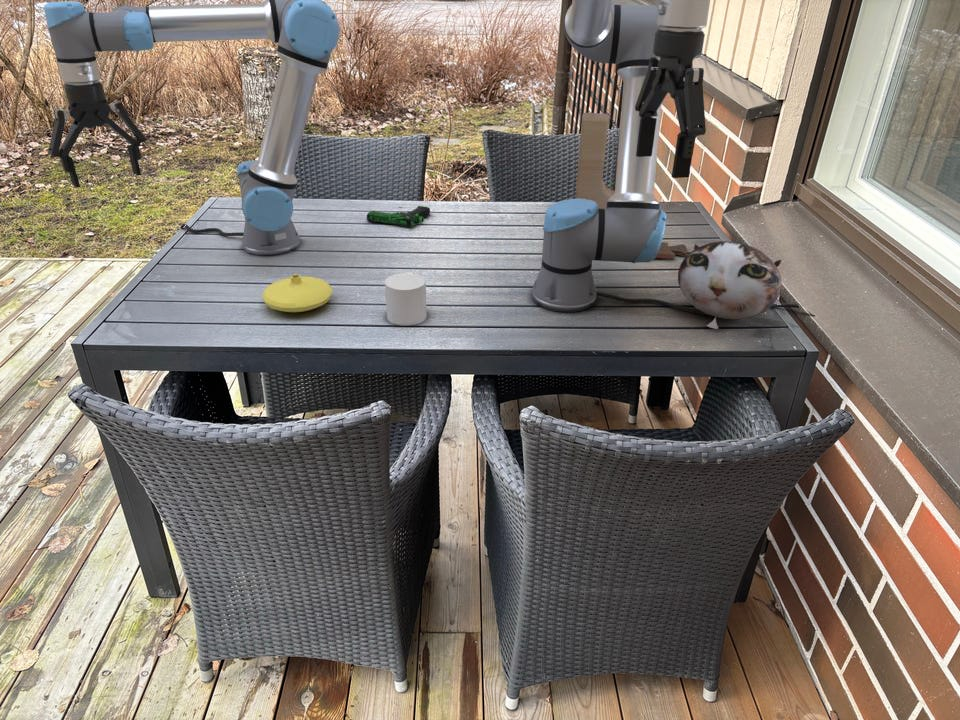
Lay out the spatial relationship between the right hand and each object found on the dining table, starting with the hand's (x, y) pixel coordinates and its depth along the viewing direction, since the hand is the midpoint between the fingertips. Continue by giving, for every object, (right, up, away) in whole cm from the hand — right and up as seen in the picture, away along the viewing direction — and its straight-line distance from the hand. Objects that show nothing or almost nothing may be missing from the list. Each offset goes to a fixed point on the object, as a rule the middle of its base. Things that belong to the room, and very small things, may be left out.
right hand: (661, 166), depth 121 cm
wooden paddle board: (+13, -4, +75) cm, 76 cm away
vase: (-73, -20, +44) cm, 88 cm away
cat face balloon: (+25, -23, +43) cm, 54 cm away
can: (-47, -23, +40) cm, 66 cm away
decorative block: (+6, +11, +99) cm, 100 cm away
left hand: (-116, +8, +43) cm, 124 cm away
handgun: (-55, +10, +95) cm, 110 cm away
